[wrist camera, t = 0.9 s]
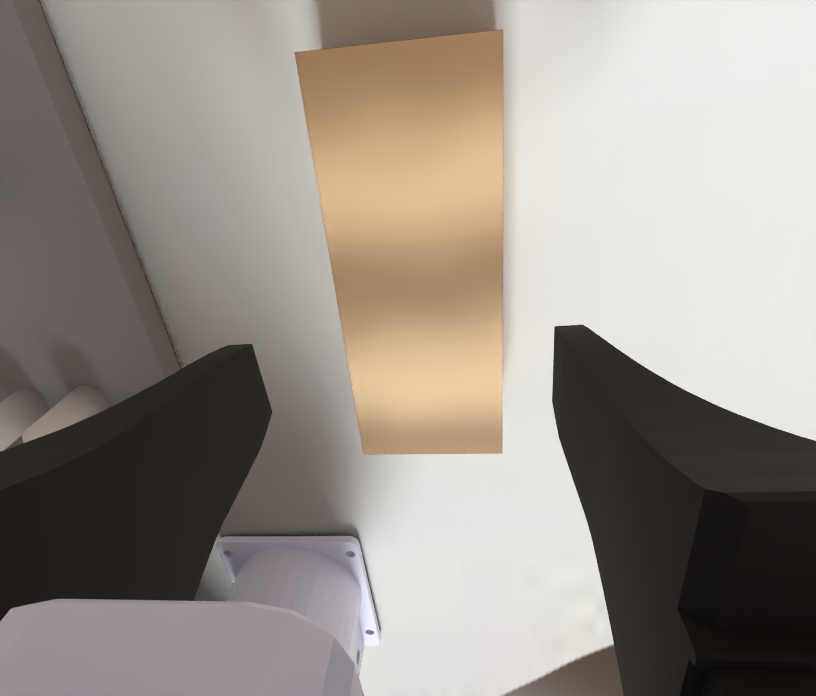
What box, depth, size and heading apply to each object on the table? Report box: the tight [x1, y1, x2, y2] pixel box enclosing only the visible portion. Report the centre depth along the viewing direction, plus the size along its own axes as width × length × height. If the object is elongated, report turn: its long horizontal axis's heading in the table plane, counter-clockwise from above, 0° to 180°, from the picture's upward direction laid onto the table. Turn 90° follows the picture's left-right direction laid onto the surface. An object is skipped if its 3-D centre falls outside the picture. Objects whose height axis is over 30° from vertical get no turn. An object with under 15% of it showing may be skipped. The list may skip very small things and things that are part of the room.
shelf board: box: [295, 29, 503, 454], centre depth 18 cm, size 14×6×4 cm, turn 5°
